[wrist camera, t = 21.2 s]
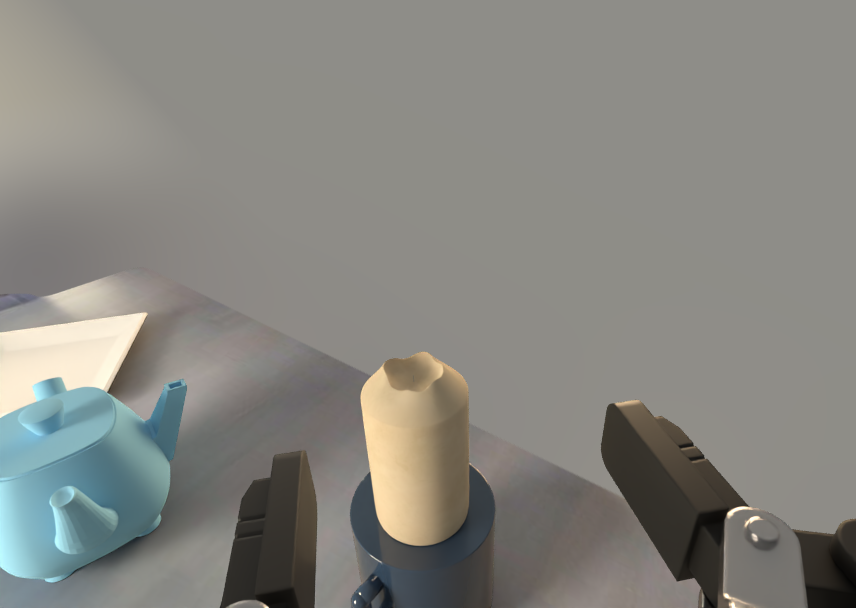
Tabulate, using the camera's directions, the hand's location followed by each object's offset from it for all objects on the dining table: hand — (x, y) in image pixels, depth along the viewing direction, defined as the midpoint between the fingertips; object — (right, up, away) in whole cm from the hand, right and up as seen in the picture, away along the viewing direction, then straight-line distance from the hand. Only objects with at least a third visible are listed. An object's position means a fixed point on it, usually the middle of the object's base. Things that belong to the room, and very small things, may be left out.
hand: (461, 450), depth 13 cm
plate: (-44, -5, +44) cm, 63 cm away
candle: (-1, -8, +17) cm, 19 cm away
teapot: (-26, -13, +27) cm, 40 cm away
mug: (-1, -15, +21) cm, 26 cm away
